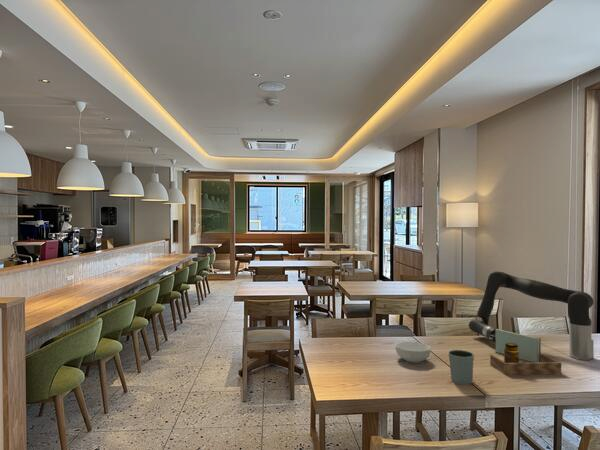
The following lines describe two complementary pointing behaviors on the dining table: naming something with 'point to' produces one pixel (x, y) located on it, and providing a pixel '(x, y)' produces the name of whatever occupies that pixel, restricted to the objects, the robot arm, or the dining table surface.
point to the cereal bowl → (413, 351)
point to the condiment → (511, 353)
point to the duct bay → (527, 366)
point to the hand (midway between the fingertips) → (509, 342)
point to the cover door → (520, 345)
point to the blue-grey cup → (461, 366)
